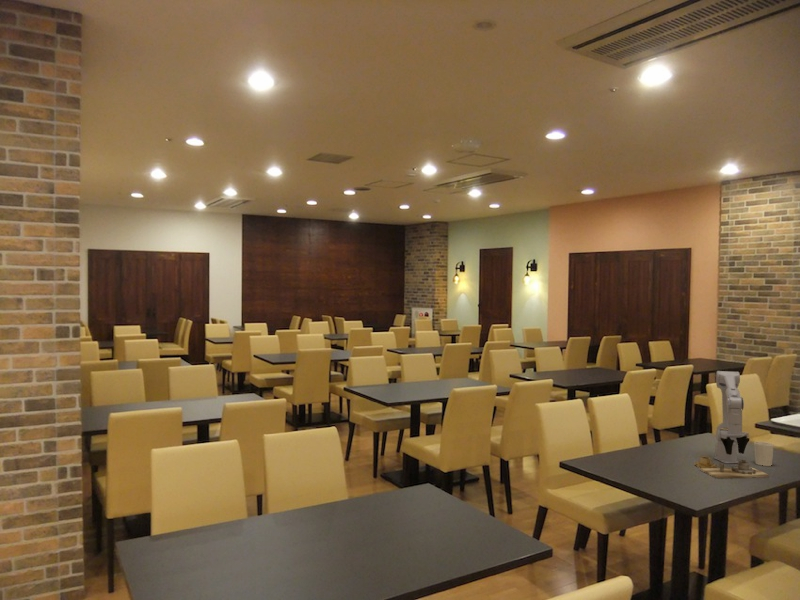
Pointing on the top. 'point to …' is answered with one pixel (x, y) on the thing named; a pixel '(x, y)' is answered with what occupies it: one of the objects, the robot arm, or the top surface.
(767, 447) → the white cup
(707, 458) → the brass gear
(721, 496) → the top surface
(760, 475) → the gear board
